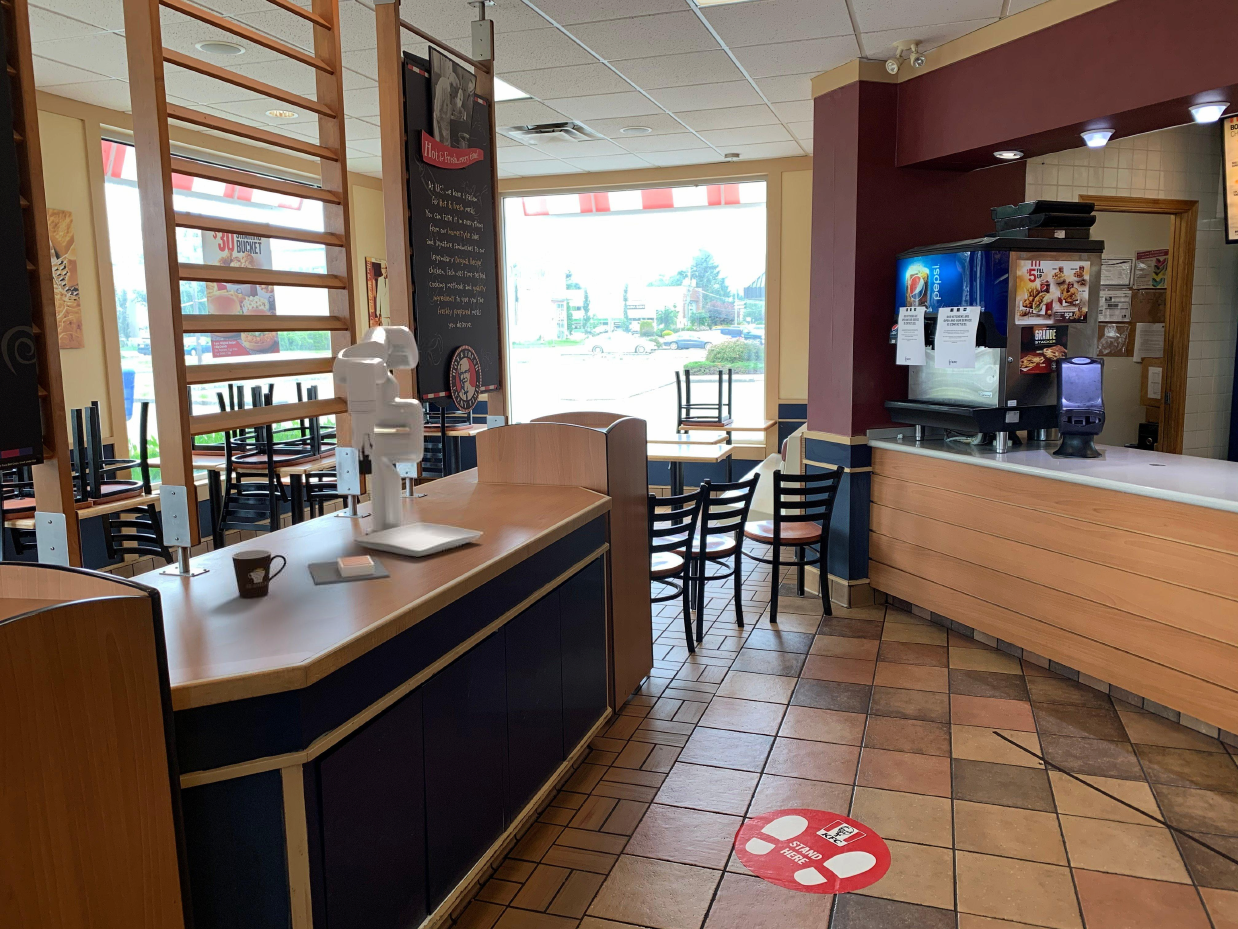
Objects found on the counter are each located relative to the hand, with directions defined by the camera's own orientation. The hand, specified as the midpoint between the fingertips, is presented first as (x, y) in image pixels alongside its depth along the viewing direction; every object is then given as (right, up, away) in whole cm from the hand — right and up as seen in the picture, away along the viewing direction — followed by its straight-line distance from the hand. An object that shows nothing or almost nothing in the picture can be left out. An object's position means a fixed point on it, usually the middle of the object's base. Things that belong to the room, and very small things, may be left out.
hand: (365, 473), depth 237 cm
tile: (-2, -23, -3) cm, 24 cm away
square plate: (+9, -22, +23) cm, 33 cm away
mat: (-3, -26, -6) cm, 27 cm away
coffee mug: (-17, -29, -27) cm, 43 cm away
